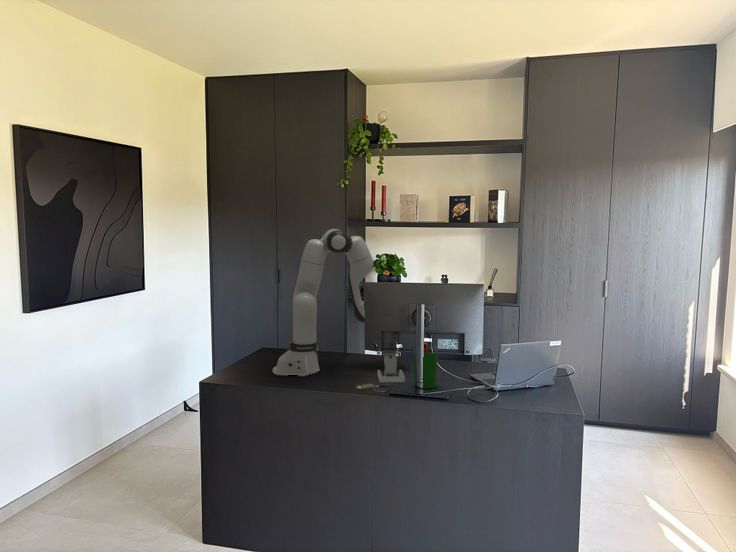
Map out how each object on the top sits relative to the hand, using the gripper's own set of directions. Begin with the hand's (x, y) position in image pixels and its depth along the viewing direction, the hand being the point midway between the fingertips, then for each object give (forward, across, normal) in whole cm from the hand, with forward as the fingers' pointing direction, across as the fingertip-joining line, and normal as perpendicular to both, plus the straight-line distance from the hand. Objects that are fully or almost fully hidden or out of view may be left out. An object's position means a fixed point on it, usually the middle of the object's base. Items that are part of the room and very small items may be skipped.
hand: (388, 353), depth 253 cm
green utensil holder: (+22, +14, -8) cm, 27 cm away
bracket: (+13, 0, 0) cm, 13 cm away
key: (+22, -13, -9) cm, 27 cm away
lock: (+13, 0, 0) cm, 13 cm away
